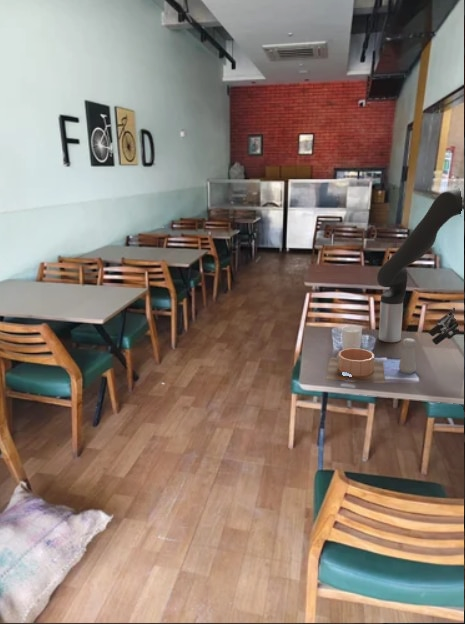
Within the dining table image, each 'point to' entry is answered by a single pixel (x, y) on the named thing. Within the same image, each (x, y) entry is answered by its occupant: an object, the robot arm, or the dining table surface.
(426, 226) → the robot arm
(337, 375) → the walnut board
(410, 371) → the salt shaker
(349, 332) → the white cup
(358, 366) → the wooden bowl
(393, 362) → the dining table surface
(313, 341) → the dining table surface
